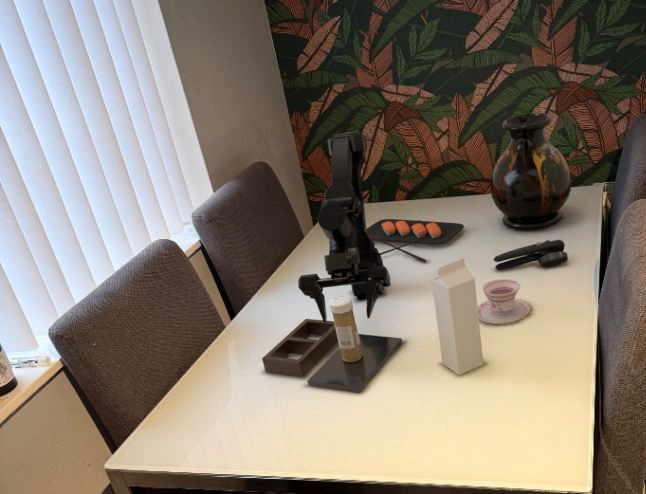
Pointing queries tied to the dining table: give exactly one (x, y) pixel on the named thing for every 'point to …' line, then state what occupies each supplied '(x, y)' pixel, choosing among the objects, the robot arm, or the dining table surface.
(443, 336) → the milk
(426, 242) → the sushi plate
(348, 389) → the slate board
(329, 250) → the robot arm
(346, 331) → the sprinkles bottle
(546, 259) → the can opener
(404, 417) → the dining table surface
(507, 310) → the teacup
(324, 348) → the spice rack
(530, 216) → the dark ceramic vase
